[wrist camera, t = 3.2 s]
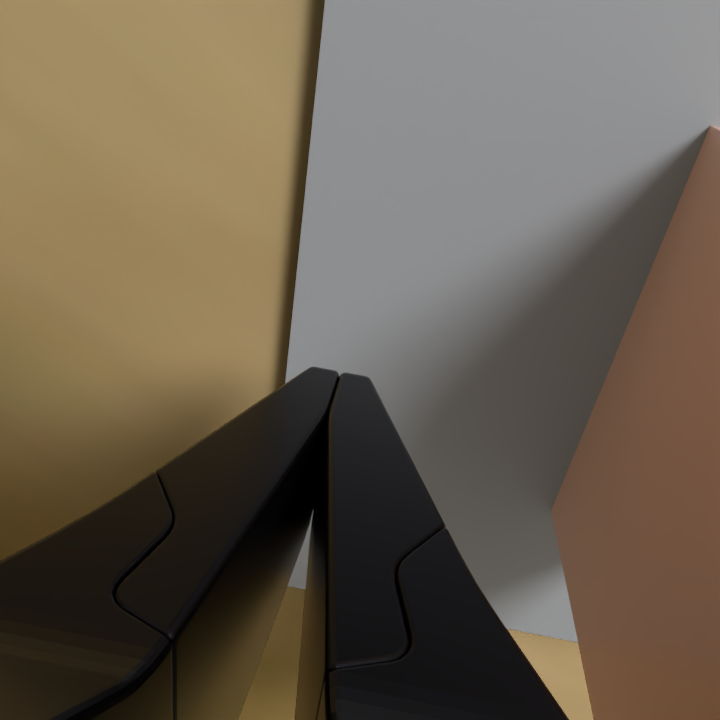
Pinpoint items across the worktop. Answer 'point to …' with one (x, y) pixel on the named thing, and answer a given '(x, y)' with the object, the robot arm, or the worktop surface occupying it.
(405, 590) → the robot arm
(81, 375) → the worktop surface
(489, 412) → the mat
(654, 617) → the tile
